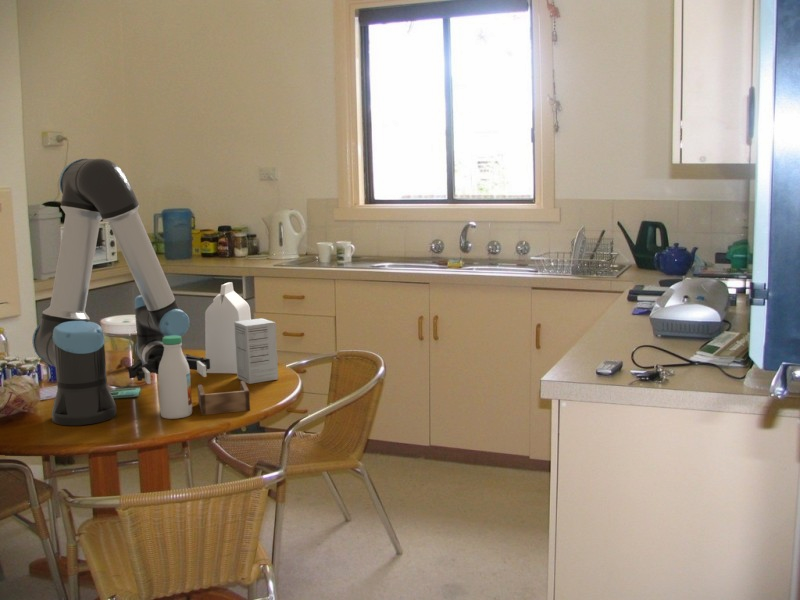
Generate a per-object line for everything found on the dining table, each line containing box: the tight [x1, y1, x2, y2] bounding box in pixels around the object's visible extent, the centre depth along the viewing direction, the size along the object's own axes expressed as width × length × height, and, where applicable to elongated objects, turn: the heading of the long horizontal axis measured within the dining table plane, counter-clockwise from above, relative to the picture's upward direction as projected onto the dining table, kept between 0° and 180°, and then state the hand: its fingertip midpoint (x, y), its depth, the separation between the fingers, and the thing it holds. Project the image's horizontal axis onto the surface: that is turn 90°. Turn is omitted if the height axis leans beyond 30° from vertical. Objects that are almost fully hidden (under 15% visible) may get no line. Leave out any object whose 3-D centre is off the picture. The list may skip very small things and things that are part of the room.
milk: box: [204, 281, 252, 374], centre depth 270 cm, size 12×12×26 cm
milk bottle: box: [157, 335, 193, 420], centre depth 222 cm, size 8×8×20 cm
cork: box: [130, 334, 140, 364], centre depth 276 cm, size 6×6×11 cm
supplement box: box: [234, 317, 279, 385], centre depth 257 cm, size 10×9×17 cm
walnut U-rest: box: [197, 380, 251, 416], centre depth 230 cm, size 12×11×5 cm
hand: (177, 374), depth 219 cm, fingers open, 13 cm apart
